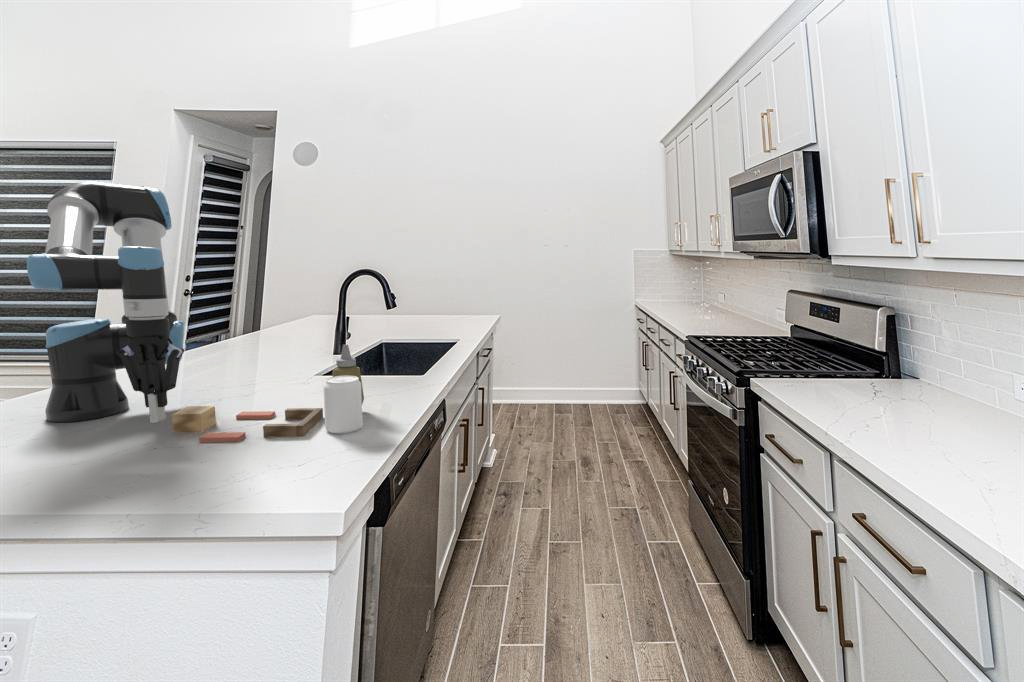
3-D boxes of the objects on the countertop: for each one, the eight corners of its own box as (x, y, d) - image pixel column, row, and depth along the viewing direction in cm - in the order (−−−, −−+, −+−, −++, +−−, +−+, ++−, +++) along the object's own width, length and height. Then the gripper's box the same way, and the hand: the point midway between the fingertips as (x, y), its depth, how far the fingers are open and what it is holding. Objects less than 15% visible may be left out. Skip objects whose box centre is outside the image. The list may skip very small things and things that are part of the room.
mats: (199, 442, 95) (198, 437, 94) (242, 415, 112) (242, 411, 112) (238, 441, 95) (238, 437, 95) (275, 415, 113) (275, 411, 113)
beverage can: (350, 436, 99) (348, 384, 97) (318, 433, 101) (315, 382, 99) (369, 424, 107) (367, 376, 105) (338, 422, 109) (336, 374, 107)
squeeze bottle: (324, 415, 113) (321, 346, 111) (347, 407, 121) (344, 341, 118) (349, 420, 110) (346, 348, 108) (371, 411, 118) (369, 344, 115)
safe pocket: (263, 437, 98) (262, 426, 98) (287, 418, 111) (287, 408, 111) (303, 436, 99) (303, 425, 98) (323, 417, 112) (322, 408, 111)
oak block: (173, 433, 100) (171, 414, 99) (189, 424, 106) (187, 406, 105) (202, 433, 100) (200, 413, 100) (216, 424, 106) (214, 406, 106)
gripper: (101, 319, 94) (114, 426, 98) (167, 319, 95) (177, 425, 99) (128, 316, 102) (140, 415, 105) (189, 316, 103) (198, 415, 106)
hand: (158, 420), depth 102 cm, fingers closed
